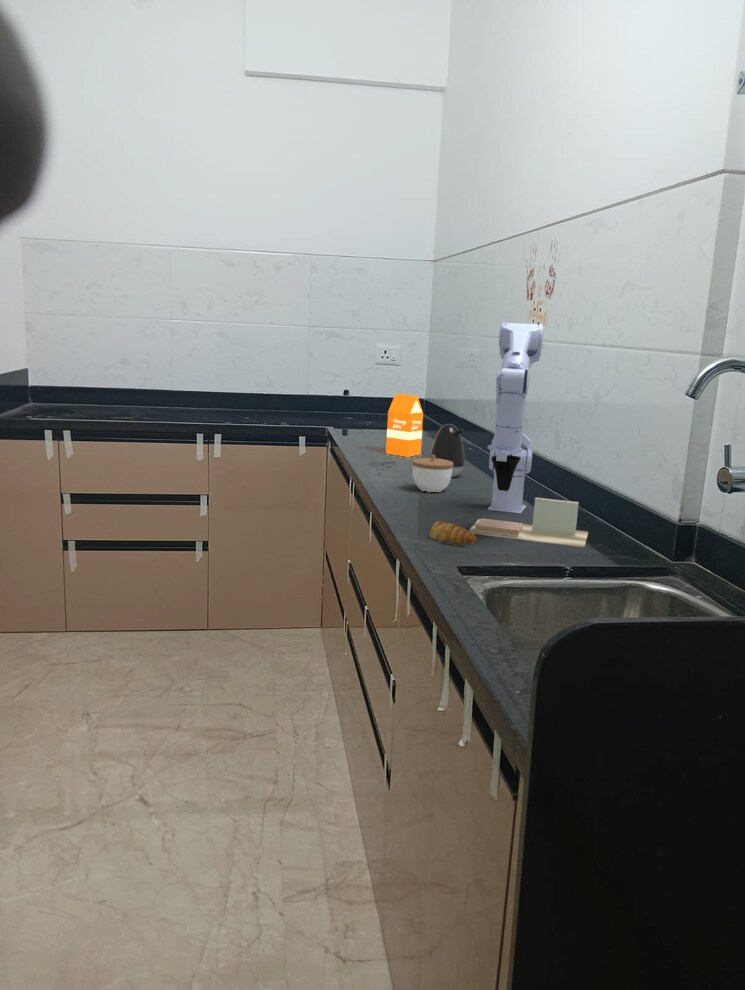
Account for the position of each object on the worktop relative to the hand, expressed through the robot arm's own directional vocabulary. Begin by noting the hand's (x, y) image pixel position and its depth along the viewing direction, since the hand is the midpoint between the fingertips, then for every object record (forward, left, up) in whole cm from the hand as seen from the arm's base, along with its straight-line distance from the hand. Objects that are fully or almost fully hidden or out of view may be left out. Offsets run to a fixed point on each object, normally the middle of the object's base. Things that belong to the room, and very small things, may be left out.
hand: (503, 490), depth 176 cm
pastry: (+12, -8, -10) cm, 18 cm away
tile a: (-2, 0, -8) cm, 8 cm away
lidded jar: (-36, -24, -9) cm, 45 cm away
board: (0, +6, -9) cm, 11 cm away
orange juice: (-88, -46, -9) cm, 100 cm away
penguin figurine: (-59, -25, -9) cm, 65 cm away
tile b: (-3, +11, -9) cm, 14 cm away
